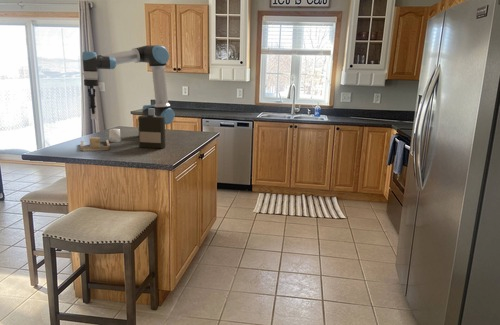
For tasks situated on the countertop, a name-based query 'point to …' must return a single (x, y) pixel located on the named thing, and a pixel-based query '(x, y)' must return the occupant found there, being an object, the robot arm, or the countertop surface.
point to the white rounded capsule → (114, 135)
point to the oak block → (94, 141)
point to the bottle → (151, 130)
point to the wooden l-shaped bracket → (95, 147)
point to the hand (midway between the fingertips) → (93, 118)
